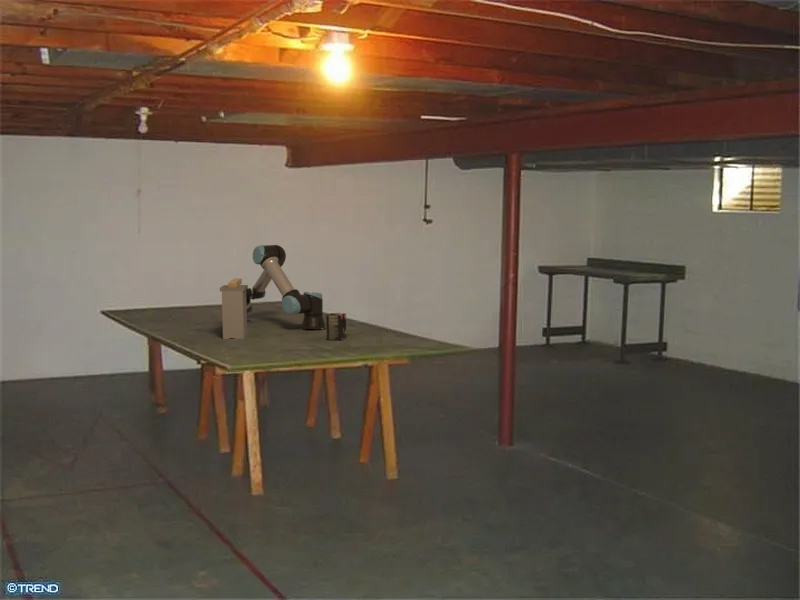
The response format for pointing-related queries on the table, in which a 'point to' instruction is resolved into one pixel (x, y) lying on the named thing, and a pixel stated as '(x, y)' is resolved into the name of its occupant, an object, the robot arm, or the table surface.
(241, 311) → the grey stand
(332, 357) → the table surface
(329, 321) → the tampon box
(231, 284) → the birch strip
